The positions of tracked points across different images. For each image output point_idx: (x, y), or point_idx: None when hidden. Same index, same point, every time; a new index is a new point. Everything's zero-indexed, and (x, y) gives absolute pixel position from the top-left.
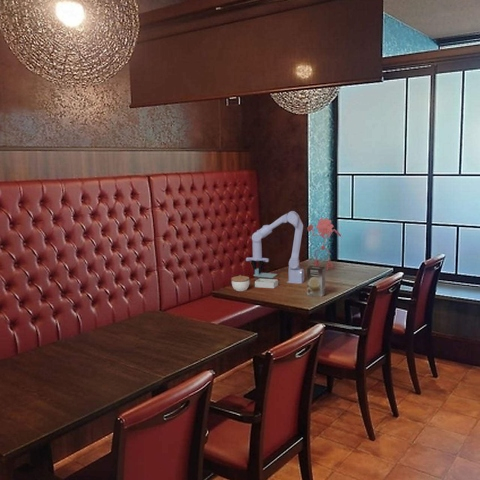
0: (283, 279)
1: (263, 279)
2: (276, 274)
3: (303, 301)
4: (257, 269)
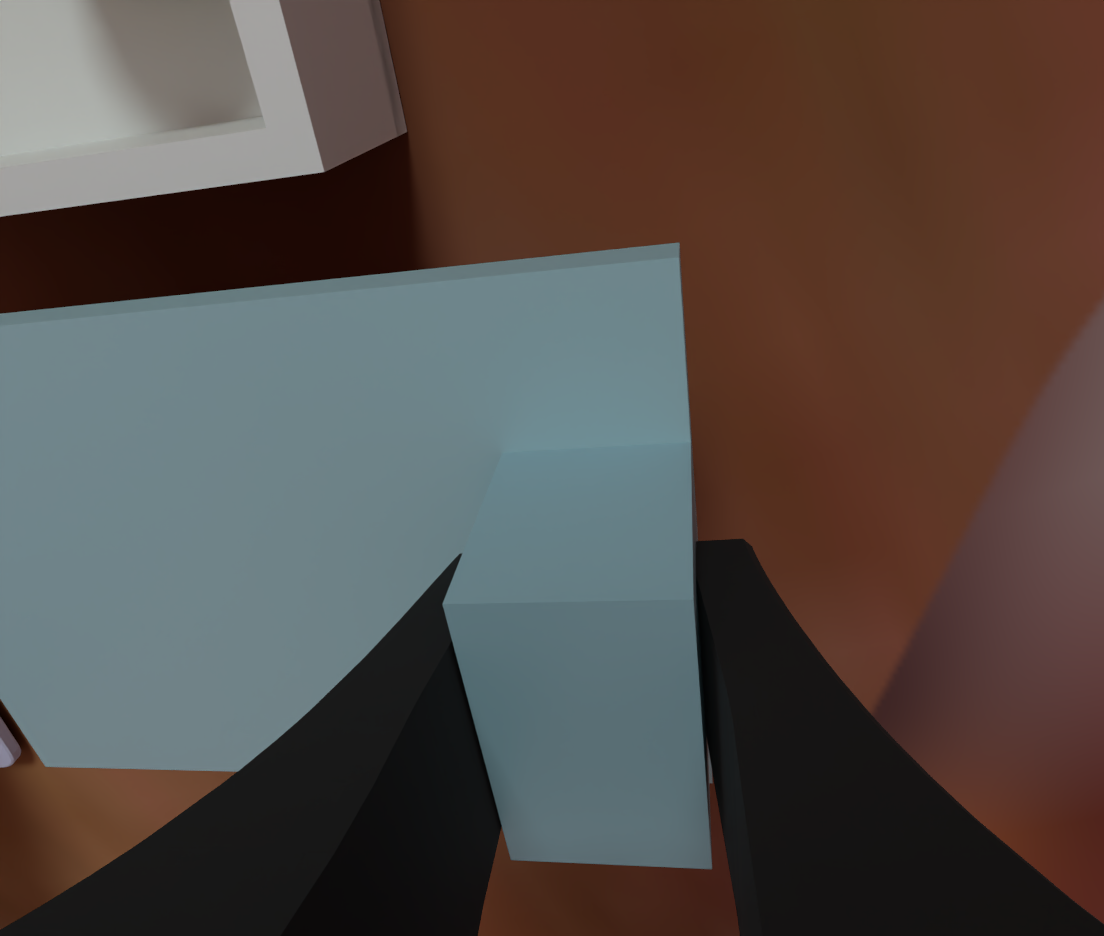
0: (206, 783)
1: (126, 149)
2: (11, 713)
3: None
4: (561, 678)
